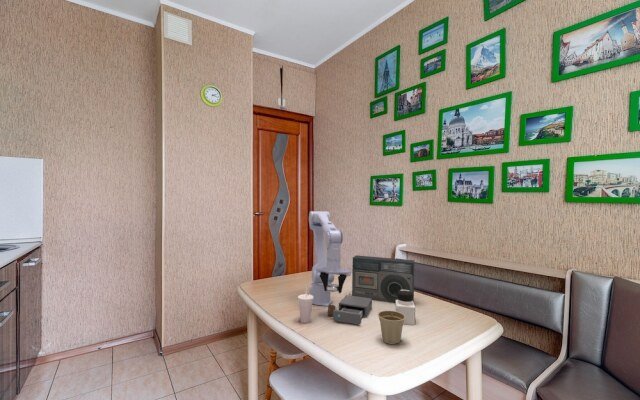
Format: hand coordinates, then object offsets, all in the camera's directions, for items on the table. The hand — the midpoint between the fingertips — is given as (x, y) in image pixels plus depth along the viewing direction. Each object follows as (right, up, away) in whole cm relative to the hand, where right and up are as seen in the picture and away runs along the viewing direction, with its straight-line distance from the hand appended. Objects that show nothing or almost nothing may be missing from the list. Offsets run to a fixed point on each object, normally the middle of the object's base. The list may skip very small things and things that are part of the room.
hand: (333, 291), depth 121 cm
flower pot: (+19, -11, -20) cm, 30 cm away
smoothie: (-11, -10, -5) cm, 16 cm away
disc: (0, +1, 0) cm, 1 cm away
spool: (-1, -10, 0) cm, 10 cm away
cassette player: (+25, -11, +22) cm, 35 cm away
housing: (+10, -10, +7) cm, 16 cm away
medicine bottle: (+29, -11, -4) cm, 31 cm away
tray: (+7, -10, -3) cm, 12 cm away
